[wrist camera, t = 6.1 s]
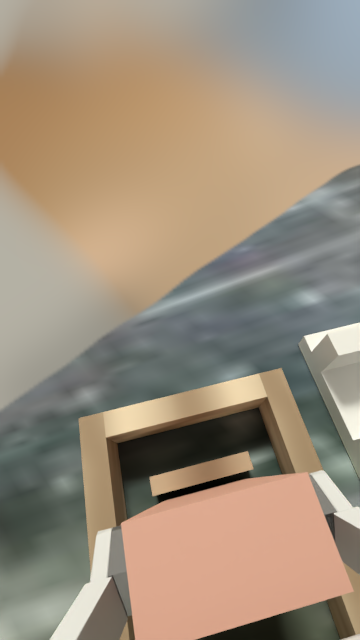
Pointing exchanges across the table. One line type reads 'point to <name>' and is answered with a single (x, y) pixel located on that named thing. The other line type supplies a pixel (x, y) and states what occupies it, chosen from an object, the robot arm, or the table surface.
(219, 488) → the salmon pink brick
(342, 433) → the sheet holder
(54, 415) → the table surface
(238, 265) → the table surface
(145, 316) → the table surface
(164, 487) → the offcut rack
